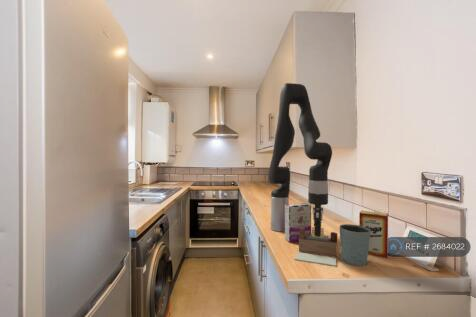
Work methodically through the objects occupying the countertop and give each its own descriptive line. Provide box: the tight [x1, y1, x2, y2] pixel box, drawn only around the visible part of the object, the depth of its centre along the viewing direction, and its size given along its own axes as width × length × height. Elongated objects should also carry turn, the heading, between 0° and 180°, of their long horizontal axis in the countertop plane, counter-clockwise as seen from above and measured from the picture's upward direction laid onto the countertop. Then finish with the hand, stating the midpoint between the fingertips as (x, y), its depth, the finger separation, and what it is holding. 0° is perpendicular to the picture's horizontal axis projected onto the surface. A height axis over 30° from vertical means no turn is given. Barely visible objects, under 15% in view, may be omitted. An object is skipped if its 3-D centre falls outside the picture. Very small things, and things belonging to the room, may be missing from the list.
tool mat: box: [294, 251, 337, 267], centre depth 86 cm, size 7×14×1 cm, turn 69°
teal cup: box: [339, 224, 371, 267], centre depth 85 cm, size 10×10×12 cm
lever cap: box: [307, 226, 329, 242], centre depth 94 cm, size 4×8×4 cm, turn 69°
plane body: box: [298, 225, 338, 258], centre depth 94 cm, size 6×14×9 cm, turn 69°
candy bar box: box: [284, 202, 312, 243], centre depth 107 cm, size 11×5×16 cm, turn 105°
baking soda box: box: [358, 210, 389, 258], centre depth 94 cm, size 10×6×16 cm
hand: (317, 234), depth 94 cm, fingers open, 3 cm apart
